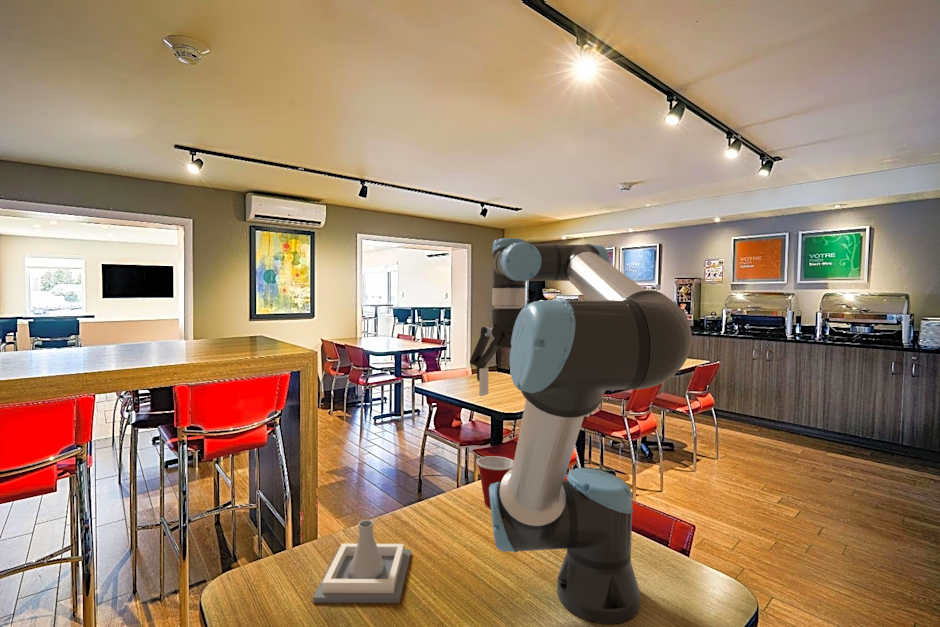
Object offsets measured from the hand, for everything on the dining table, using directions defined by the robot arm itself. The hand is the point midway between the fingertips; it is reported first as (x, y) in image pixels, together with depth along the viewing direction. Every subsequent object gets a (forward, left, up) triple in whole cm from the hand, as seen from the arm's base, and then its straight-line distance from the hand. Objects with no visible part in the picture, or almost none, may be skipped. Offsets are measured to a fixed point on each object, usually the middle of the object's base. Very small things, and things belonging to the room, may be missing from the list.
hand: (508, 399), depth 108 cm
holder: (+15, +30, -33) cm, 47 cm away
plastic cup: (+11, -12, -33) cm, 37 cm away
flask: (+15, +30, -32) cm, 46 cm away
